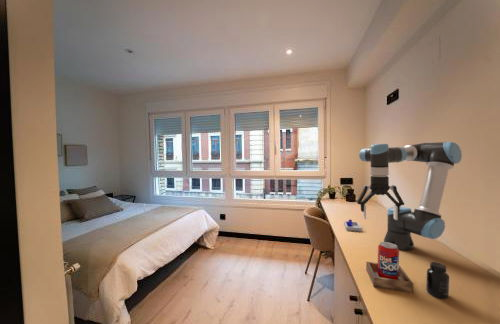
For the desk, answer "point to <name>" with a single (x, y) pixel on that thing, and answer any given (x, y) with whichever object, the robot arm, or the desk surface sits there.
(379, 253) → the soda can
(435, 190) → the robot arm
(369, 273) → the walnut box
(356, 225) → the grey desk tray
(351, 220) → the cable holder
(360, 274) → the desk surface
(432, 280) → the supplement bottle
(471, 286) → the desk surface
